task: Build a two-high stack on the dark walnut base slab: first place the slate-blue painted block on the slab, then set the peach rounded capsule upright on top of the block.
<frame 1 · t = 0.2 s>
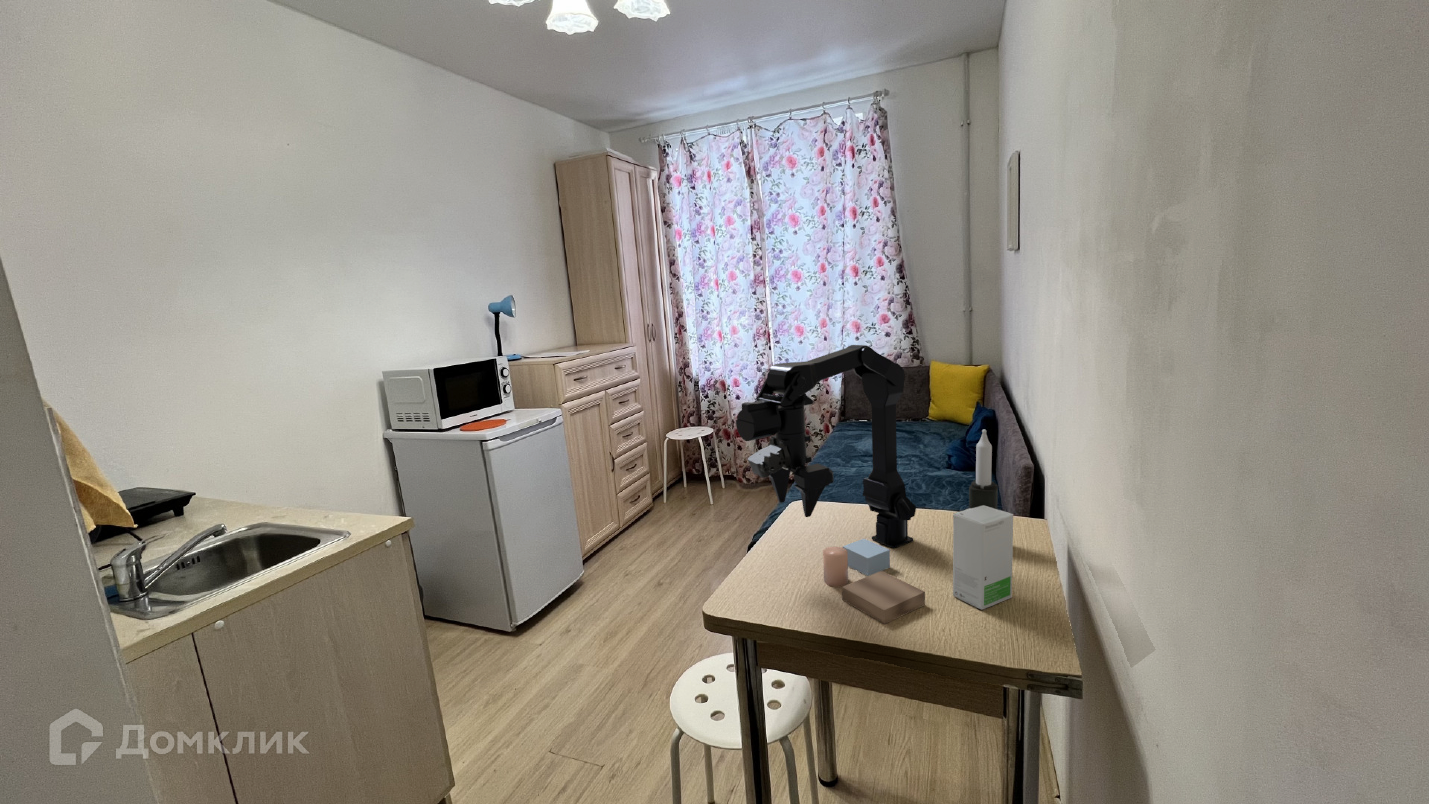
hand: (794, 509, 113), 14 cm above the table, tool pointing down, fingers open, 9 cm apart
skincare box: (981, 597, 104), on the table
peach rounded capsule: (836, 580, 113), on the table
base slab: (882, 602, 104), on the table
block: (866, 566, 118), on the table
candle: (982, 544, 125), on the table
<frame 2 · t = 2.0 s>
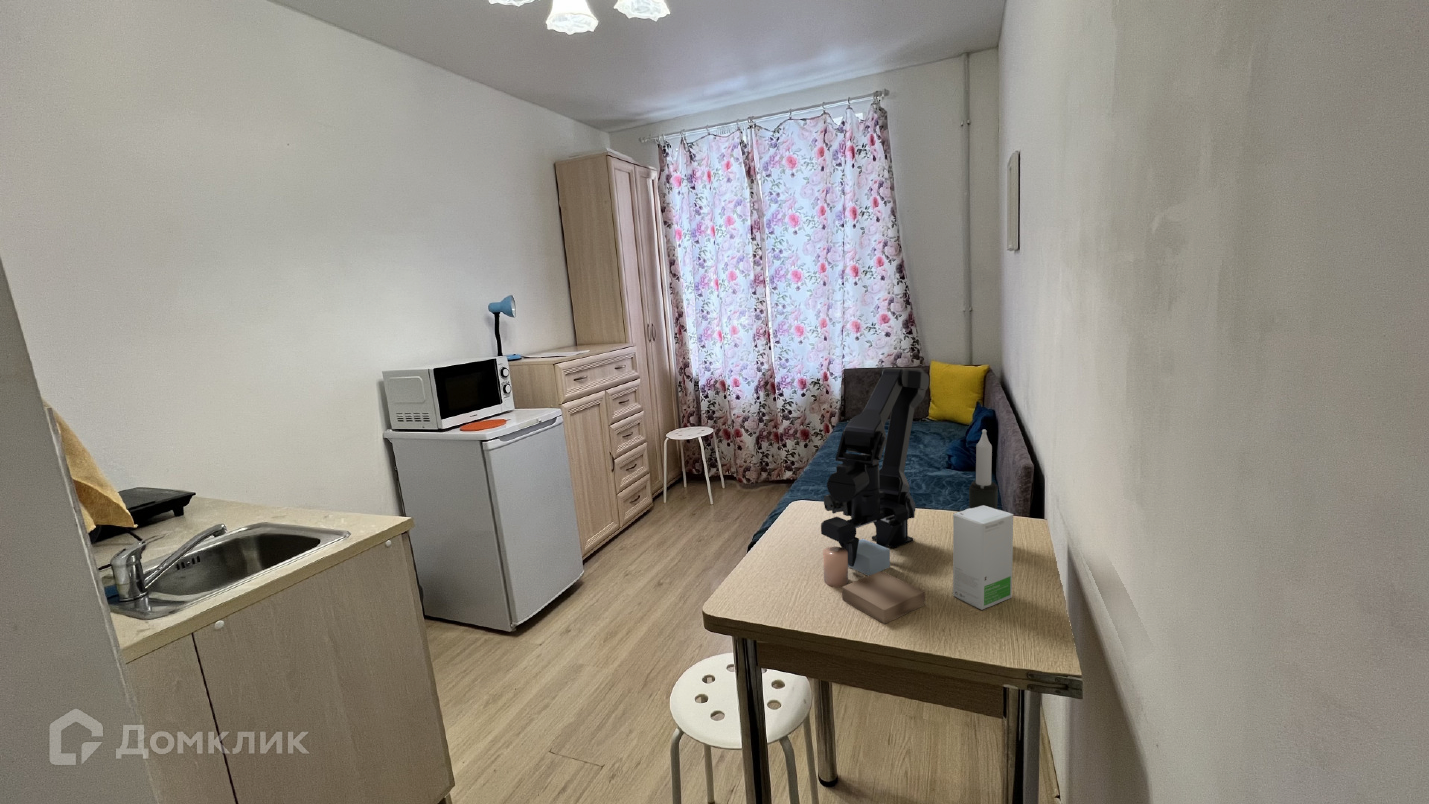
hand: (866, 560, 118), 1 cm above the table, tool pointing down, fingers open, 8 cm apart
nothing on the table moved.
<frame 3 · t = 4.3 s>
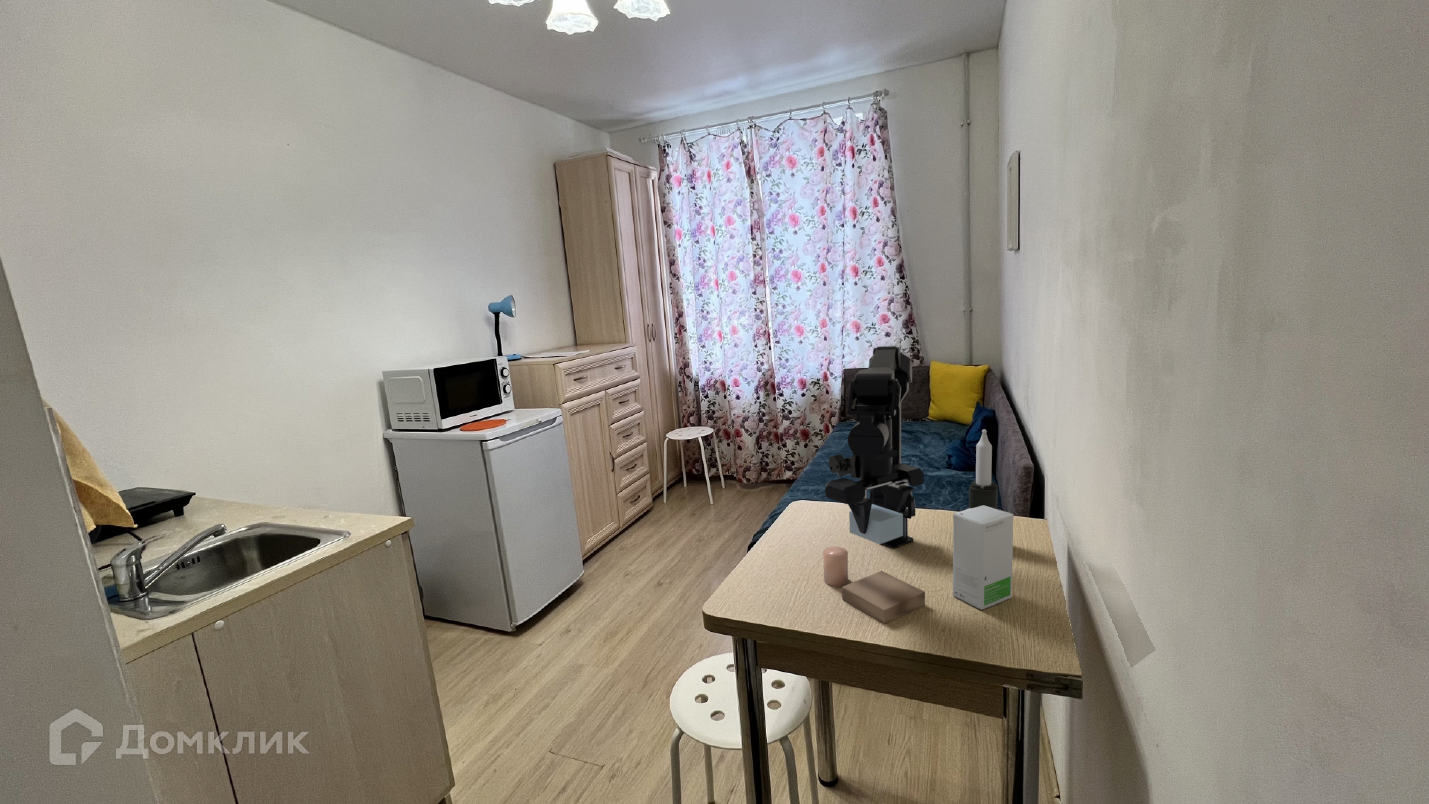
hand: (876, 528, 105), 13 cm above the table, tool pointing down, fingers closed on block, 6 cm apart
block: (875, 534, 105), point 12 cm above the table, touching gripper
everything else where it was.
when the fingers open (4 cm above the table, at t = 6.4 s): block stays where it is, resting on base slab.
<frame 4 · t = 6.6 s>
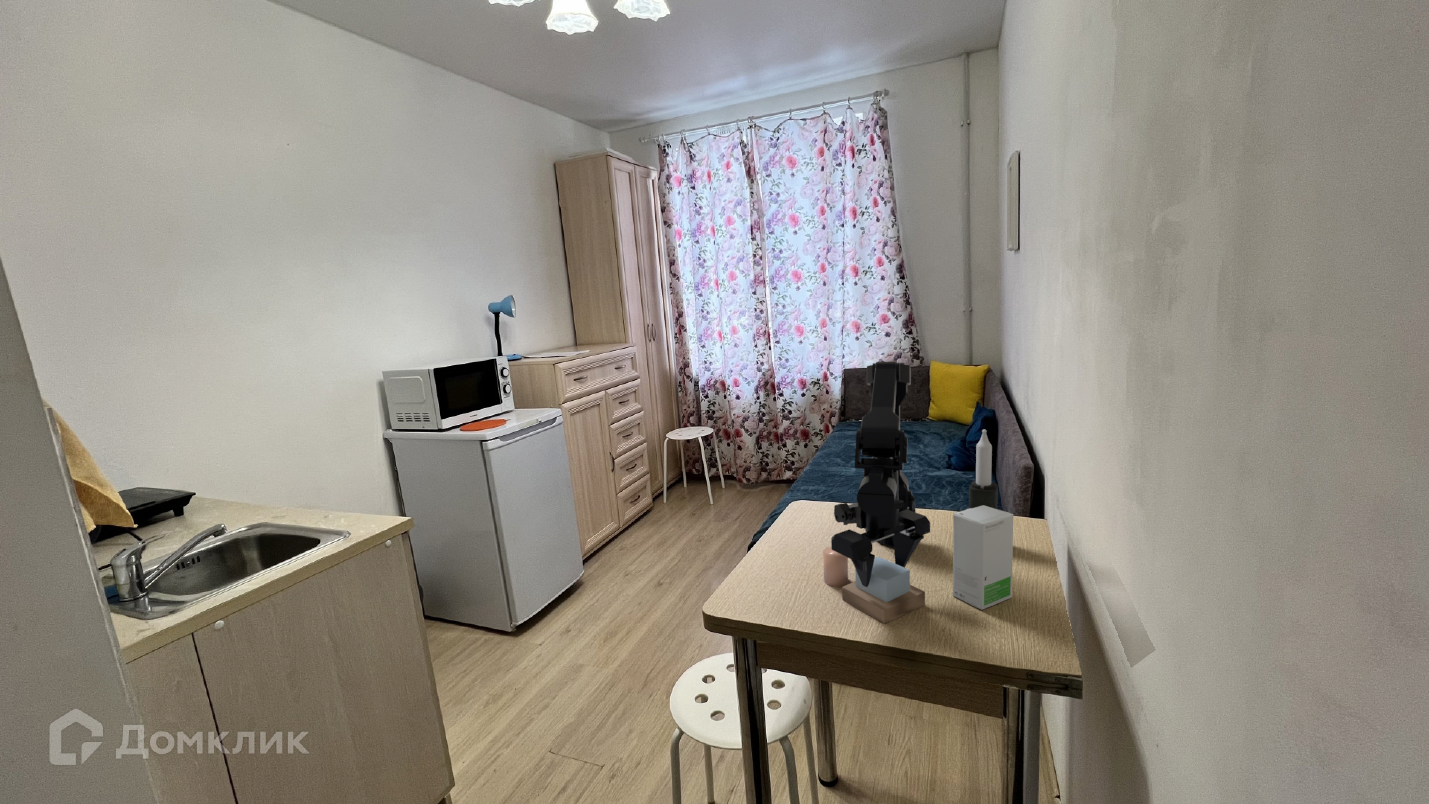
hand: (882, 578, 103), 4 cm above the table, tool pointing down, fingers open, 8 cm apart
block: (882, 589, 104), point 2 cm above the table, touching base slab
everything else where it was.
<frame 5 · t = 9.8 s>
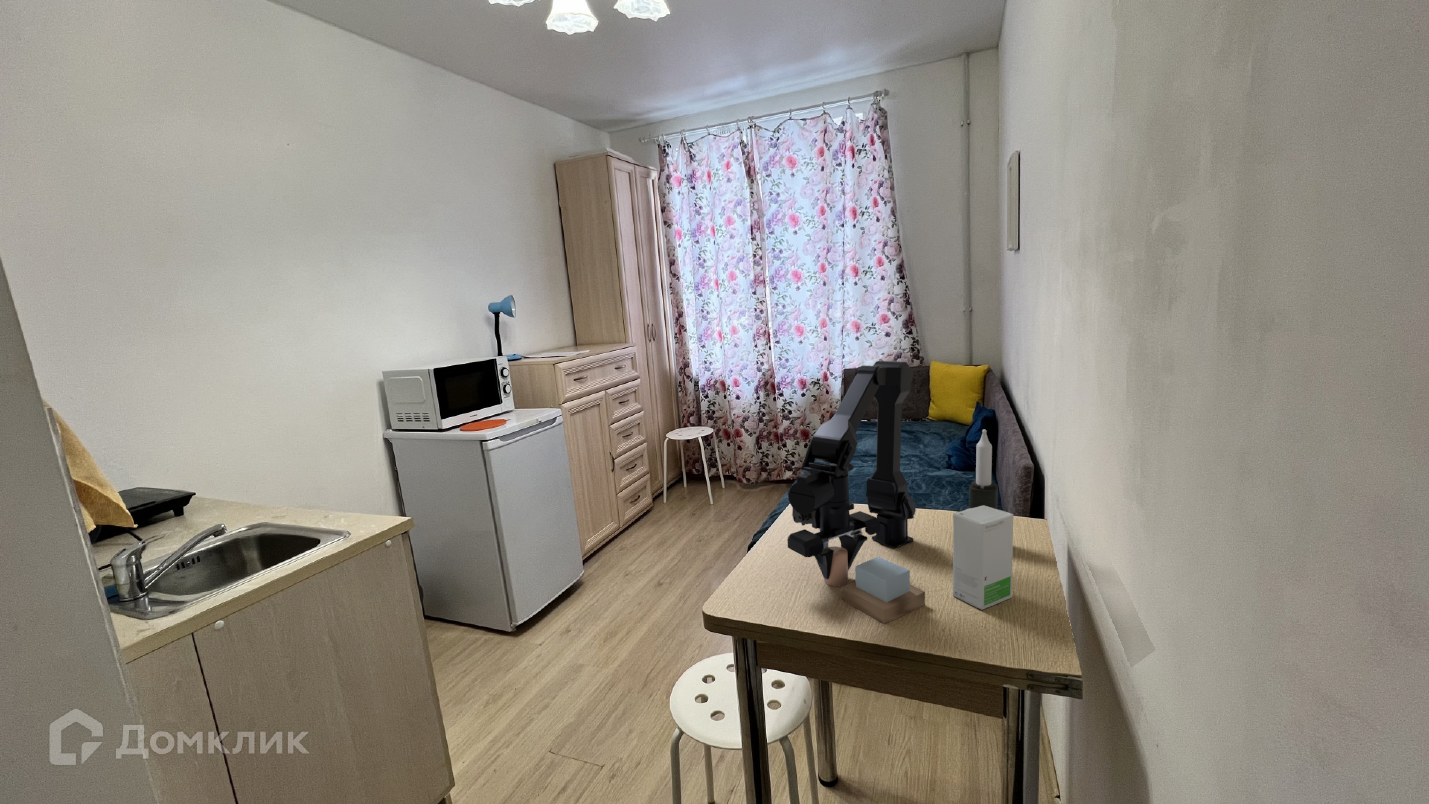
hand: (836, 574, 113), 1 cm above the table, tool pointing down, fingers closed on peach rounded capsule, 5 cm apart
peach rounded capsule: (836, 580, 113), on the table, touching gripper
everything else where it was.
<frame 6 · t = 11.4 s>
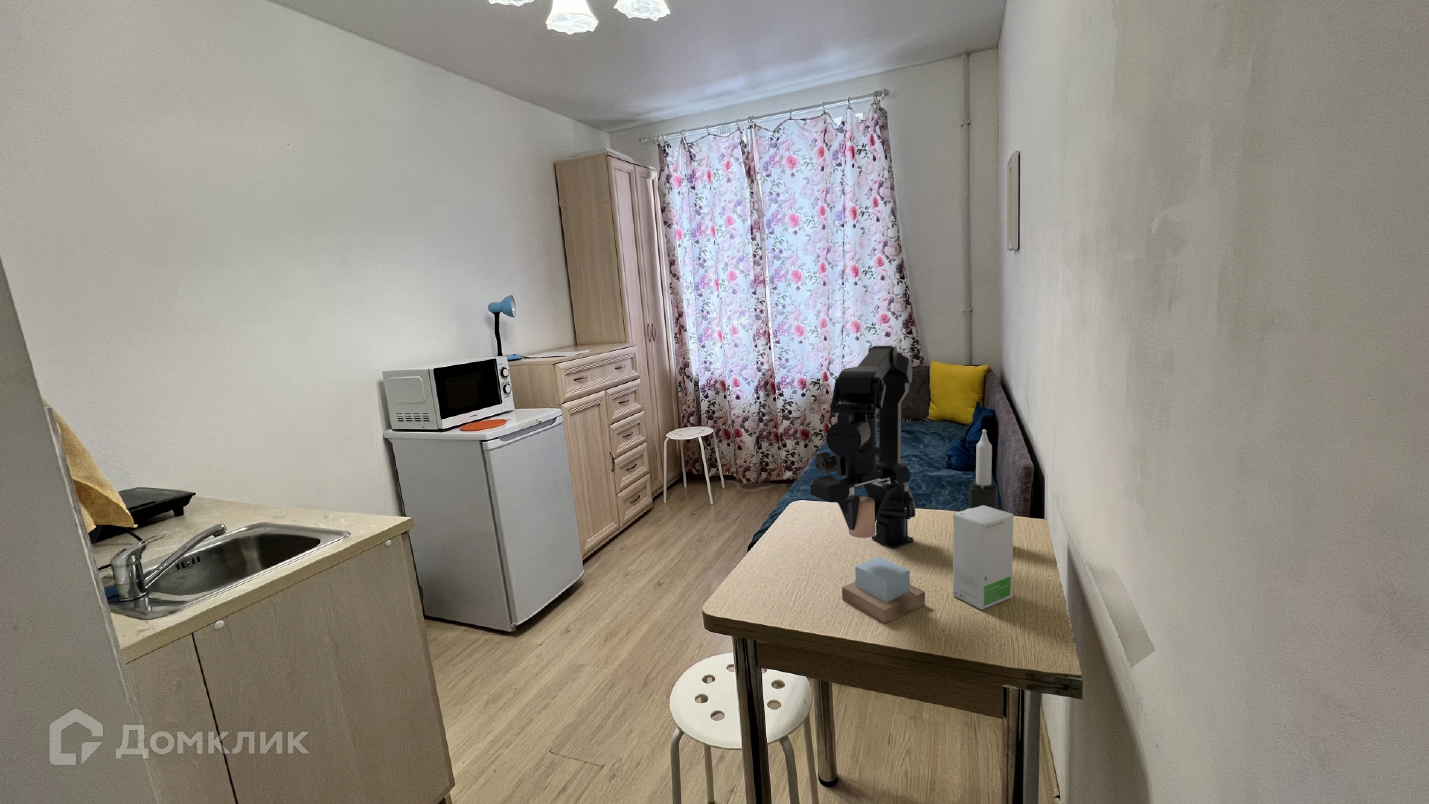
hand: (861, 526, 105), 13 cm above the table, tool pointing down, fingers closed on peach rounded capsule, 5 cm apart
peach rounded capsule: (861, 532, 105), point 12 cm above the table, touching gripper
everything else where it was.
when the fingers open (9 cm above the table, at t = 13.0 s): peach rounded capsule stays where it is, resting on block.
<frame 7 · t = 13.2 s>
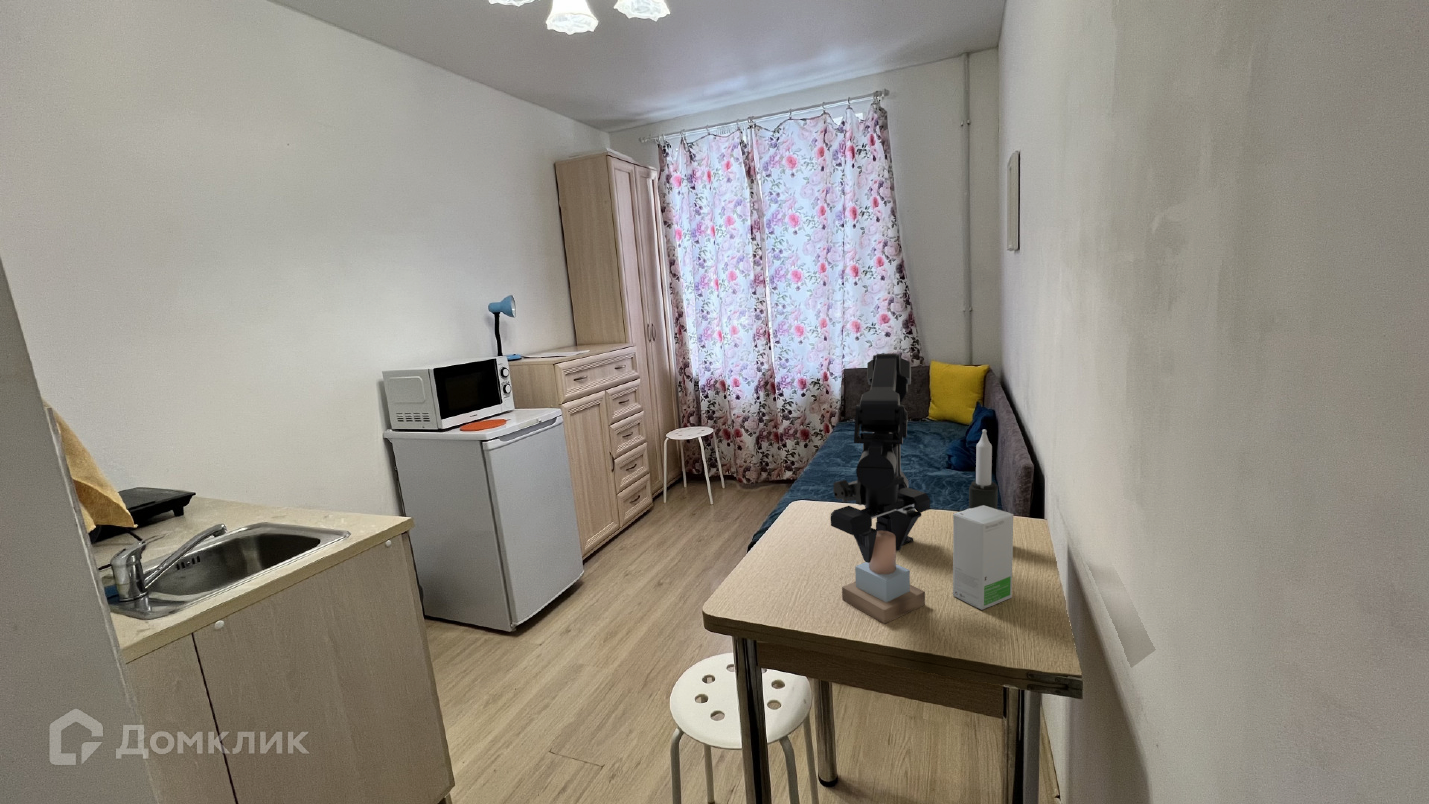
hand: (882, 556, 103), 9 cm above the table, tool pointing down, fingers open, 7 cm apart
peach rounded capsule: (882, 567, 103), point 7 cm above the table, touching block
block: (882, 589, 104), point 2 cm above the table, touching base slab, peach rounded capsule
everything else where it was.
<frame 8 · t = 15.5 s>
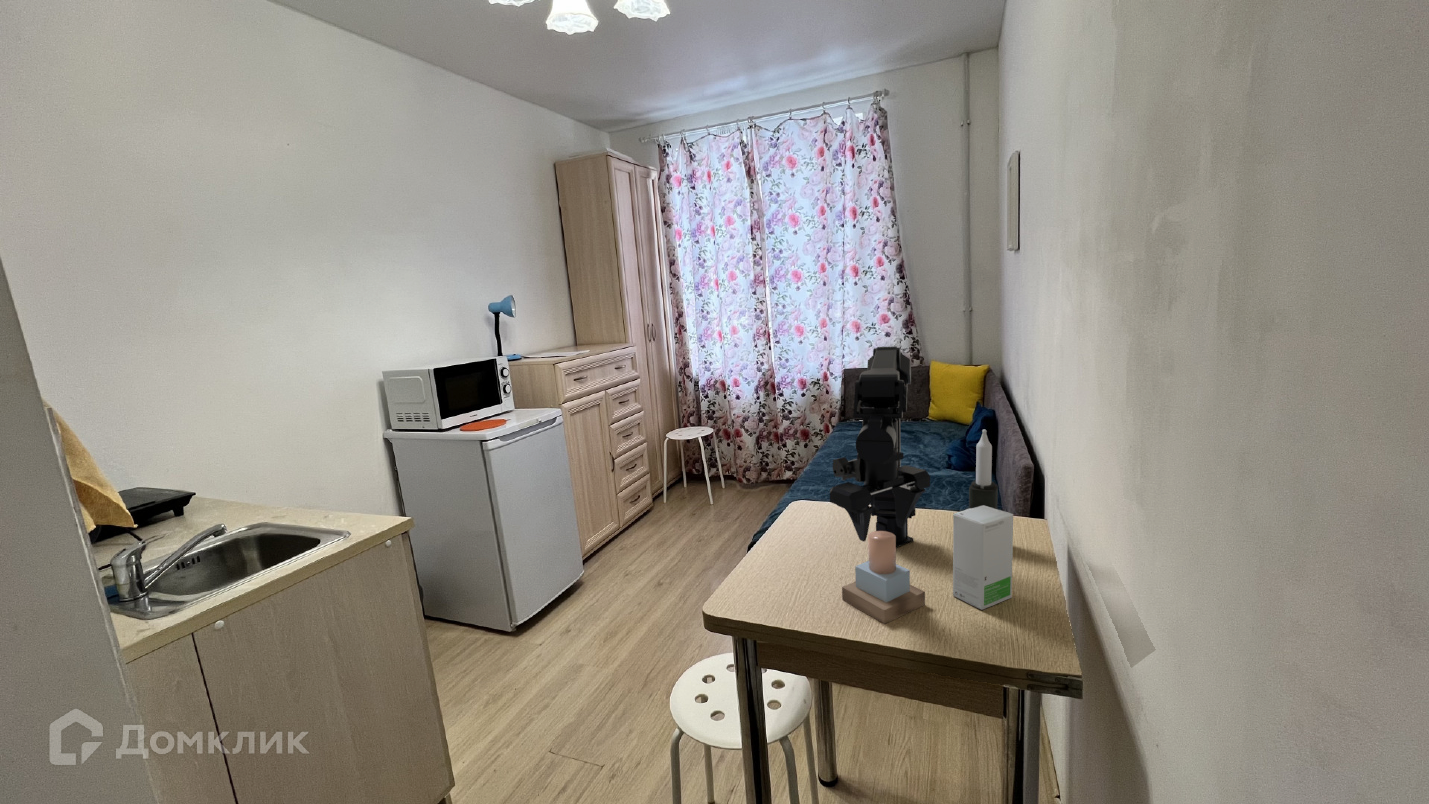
hand: (881, 533, 102), 13 cm above the table, tool pointing down, fingers open, 9 cm apart
nothing on the table moved.
at the end: block 0.1 cm off-centre on the base slab, point 2.5 cm above the base slab's base; peach rounded capsule 0.1 cm off-centre on the block, point 4.0 cm above the block's base; peach rounded capsule tilted 0° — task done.
